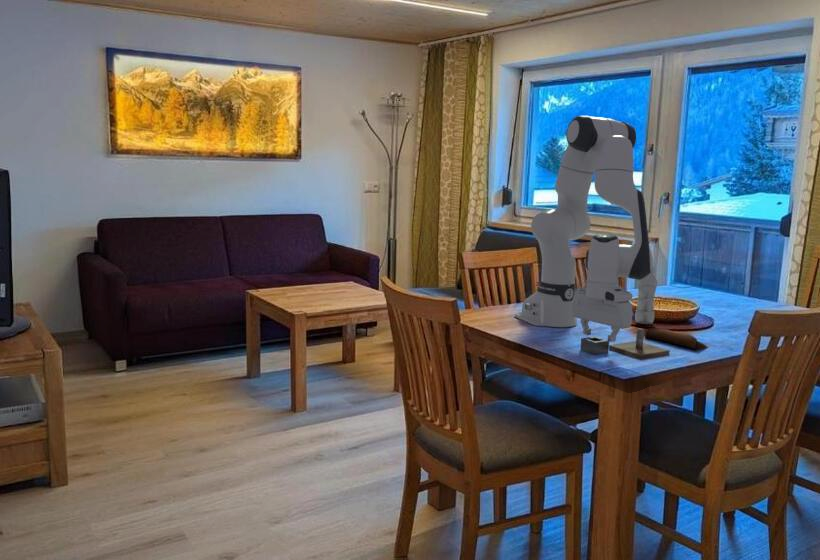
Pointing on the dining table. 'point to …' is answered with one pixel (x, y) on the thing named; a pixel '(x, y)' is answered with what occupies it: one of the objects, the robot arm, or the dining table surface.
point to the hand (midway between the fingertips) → (599, 337)
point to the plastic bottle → (646, 299)
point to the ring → (594, 345)
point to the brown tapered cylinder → (675, 338)
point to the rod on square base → (639, 348)
